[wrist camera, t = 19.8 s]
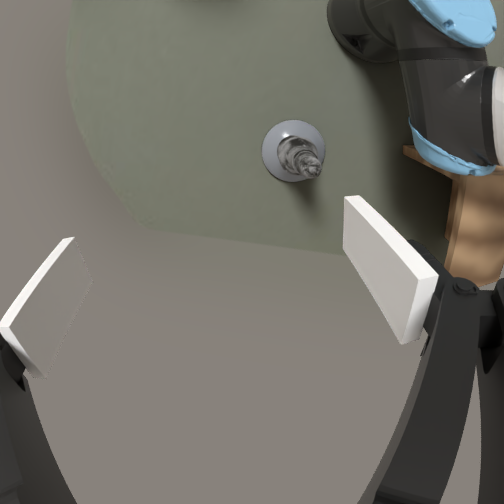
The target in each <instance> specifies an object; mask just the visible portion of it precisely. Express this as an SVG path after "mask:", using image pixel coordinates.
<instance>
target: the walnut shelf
mask: <svg viewBox="0 0 504 504" xmlns="http://www.w3.org/2000/svg"><path fill="white" fill-rule="evenodd" d="M403 154H404V155H406V156H408V157H410V158H412V159H414V160H416V161H418V162H420V163H422V164H424V165H426V166H428V167H430V168H432V169H434V170H436V171H438V172H440V173H442V174H444V175H445V176H447V177H449V178H451V179H453V183H452V192H451V199H450V206H449V213H448V219H447V225H446V230H445V235H444V237H445V238H446V239H447V240H448V241H449V247H448V251H447V256H446V260H445V264H444V268H445V269H446V270H447V271H448V272H449V273H450V274H451V275H452V276H453V277H461V278H465V279H468V280H470V281H472V282H473V283H475V284H476V285H477V287H480V286H483V285H487V284H490V283H493V282H496V281H498V279H499V277H500V274H501V271H502V268H503V264H504V167H503V166H499V165H497V166H496V167H495V170H494V171H493V172H492V173H490V174H488V175H485V176H474V175H472V174H468V175H460V174H456V173H452V172H449V171H446V170H443V169H441V168H438V167H436V166H434V165H432V164H430V163H429V162H427V161H426V160H425V159H424V158H422V157H421V156H420V154H419V153H418V151H417V150H416V148H415V145H403Z"/></svg>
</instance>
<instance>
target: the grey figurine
mask: <svg viewBox="0 0 504 504" xmlns="http://www.w3.org/2000/svg"><path fill="white" fill-rule="evenodd" d="M277 156H278V159H279V162H280V165H281V166H282V168H283V169H284V170H285V171H286V172H287V173H289V174H292V175H296V176H299V175H303V176H304V177H306V178H310V179H313V178H316V177H317V176H319V175H320V173H321V170H322V166H321V163H320V161H319V160H318V151H317V148H316V146H315V144H314V143H313V142H312V141H311V140H309V139H307V138H305V137H300V136H297V135H290V136H287V137H285V138H284V139H282V140H281V142H280V143H279V145H278V147H277Z"/></svg>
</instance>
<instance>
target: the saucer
mask: <svg viewBox="0 0 504 504" xmlns="http://www.w3.org/2000/svg"><path fill="white" fill-rule="evenodd" d="M290 135H297V136H300V137H305V138H307V139H309V140H311V141H312V142H313V143H314V144H315V146H316V148H317V151H318V160H319V161H320V163H321V164H322V162H323V159H324V155H325V145H324V141H323V139H322V137H321V135H320V133H319V132H318V131H317V130H316V129H315V128H314V127H313V126H312V125H310V124H308V123H306V122H304V121H300V120H286V121H283V122H280V123H278V124H277V125H275V126H274V127H272V128H271V129H270V130H269V132H268V133H267V134H266V136H265V138H264V140H263V144H262V158H263V161H264V164H265V166H266V167H267V169H268V170H269V171H270V172H271V173H272V174H273V175H274V176H275V177H277V178H279V179H281V180H284V181H288V182H297V181H302V180H305V179H307V178H306V177H304V176H303V175H299V176H296V175H292V174H289V173H287V172H286V171H285V170H284V169H283V168H282V166H281V165H280V162H279V159H278V156H277V147H278V145H279V143H280V142H281V140H282V139H284V138H285V137H287V136H290Z"/></svg>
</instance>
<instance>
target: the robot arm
mask: <svg viewBox="0 0 504 504" xmlns="http://www.w3.org/2000/svg"><path fill="white" fill-rule="evenodd" d="M327 18H328V22H329V25H330V28H331V30H332V32H333V34H334V36H335V37H336V39H337V40H338V41H339V43H340V44H341V45H342V46H343V47H344V48H345V49H346V50H348V51H349V52H350V53H351V54H353V55H355V56H356V57H358V58H360V59H363V60H366V61H369V62H374V63H385V62H393V61H396V60H399V64H400V68H401V73H402V78H403V82H404V87H405V93H406V98H407V104H408V110H409V117H408V120H409V125H410V127H411V129H412V135H413V141H414V145H415V148H416V150H417V151H418V153H419V154H420V156H421V157H422V158H424V159H425V160H426V161H427V162H429V163H430V164H432V165H434V166H436V167H438V168H441V169H443V170H446V171H449V172H452V173H456V174H460V175H468V174H472V175H474V176H485V175H488V174H490V173H492V172H493V171H494V170H495V167H496V166H497V165H499V166H503V167H504V69H503V68H501V67H493V66H489V65H488V62H487V56H486V51H485V46H487V45H488V44H489V43H490V42H492V40H493V39H494V37H495V33H494V31H496V29H497V23H496V16H495V13H494V10H493V7H492V4H491V2H490V0H329V2H328V6H327ZM421 59H434V60H421ZM450 59H455V60H450ZM404 60H406V61H404ZM343 250H344V251H345V253H346V254H347V256H348V257H349V259H350V261H351V262H352V264H353V265H354V267H355V268H356V270H357V272H358V273H359V275H360V276H361V278H362V280H363V281H364V283H365V284H366V286H367V288H368V289H369V291H370V293H371V294H372V296H373V298H374V299H375V301H376V303H377V304H378V306H379V308H380V309H381V311H382V313H383V314H384V316H385V318H386V320H387V321H388V323H389V324H390V326H391V328H392V330H393V332H394V334H395V335H396V337H397V339H398V341H399V343H400V344H401V345H402V344H405V343H409V342H412V341H416V340H419V338H420V335H421V332H422V329H423V327H424V328H425V330H426V332H427V333H428V337H427V340H426V343H425V346H424V348H423V350H422V353H421V355H420V356H422V357H421V360H420V364H419V367H418V370H417V373H416V376H415V379H414V382H413V385H412V388H411V391H410V394H409V396H408V399H407V401H406V404H405V407H404V409H403V412H402V414H401V417H400V419H399V422H398V424H397V426H396V429H395V431H394V434H393V436H392V438H391V440H390V442H389V445H388V447H387V449H386V451H385V453H384V455H383V457H382V459H381V461H380V464H379V466H378V467H377V469H376V471H375V473H374V475H373V477H372V479H371V481H370V483H369V484H368V486H367V488H366V490H365V491H364V493H363V495H362V497H361V499H360V500H359V502H358V503H357V504H439V503H440V500H441V498H442V496H443V493H444V490H445V488H446V485H447V482H448V479H449V477H450V474H451V471H452V468H453V465H454V462H455V458H456V455H457V452H458V449H459V445H460V441H461V438H462V434H463V430H464V426H465V422H466V417H467V413H468V408H469V403H470V398H471V392H472V387H473V380H474V374H475V367H477V376H478V385H479V395H480V410H481V471H480V485H479V497H478V504H504V278H501V279H499V280H498V281H497V284H496V286H495V289H494V290H493V291H492V290H490V291H489V290H479V288H478V287H477V285H476V284H475V283H473V282H472V281H470V280H468V279H465V278H461V277H453V276H452V275H451V274H450V273H449V272H448V271H447V270H446V269H445V268H444V267H443V266H442V264H441V263H440V262H439V261H438V260H437V259H436V260H435V257H434V256H433V255H432V254H430V252H429V251H428V250H427V249H426V248H425V247H424V246H423V245H421V244H419V243H418V242H416V241H414V240H405V239H404V238H403V237H402V236H401V235H400V234H399V233H398V232H397V231H396V230H395V229H394V228H393V227H392V226H391V225H390V224H389V223H388V222H387V221H386V220H385V219H384V218H383V217H382V216H381V215H380V214H379V213H378V212H377V211H376V210H374V209H373V208H372V207H371V206H370V205H369V204H368V203H367V202H366V201H365V200H364V199H363V198H362V197H360V196H359V195H358V196H347V197H344V230H343ZM92 283H93V281H92V278H91V276H90V274H89V271H88V269H87V267H86V264H85V262H84V259H83V257H82V254H81V252H80V249H79V246H78V244H77V241H76V238H75V237H71V238H66V239H63V240H62V241H61V242H60V243H59V245H58V246H57V247H56V248H55V249H54V251H53V252H52V253H51V254H50V255H49V257H48V258H47V259H46V260H45V262H44V263H43V264H42V265H41V266H40V268H39V269H38V270H37V271H36V273H35V274H34V275H33V277H32V278H31V279H30V281H29V282H28V283H27V285H26V286H25V287H24V289H23V290H22V292H21V293H20V294H19V296H18V297H17V298H16V300H15V301H14V302H13V304H12V305H11V307H10V308H9V310H8V311H7V312H6V314H5V315H4V317H3V319H2V320H1V322H0V504H77V503H76V501H75V499H74V497H73V495H72V494H71V492H70V490H69V488H68V486H67V484H66V482H65V480H64V478H63V476H62V474H61V472H60V469H59V467H58V465H57V463H56V460H55V458H54V456H53V454H52V451H51V449H50V446H49V444H48V441H47V439H46V436H45V434H44V431H43V428H42V425H41V423H40V420H39V417H38V414H37V411H36V408H35V405H34V401H33V398H32V395H31V391H30V388H29V384H28V380H27V379H26V377H25V376H24V375H23V372H24V370H25V368H26V369H27V370H28V372H29V373H30V374H31V375H32V377H33V378H41V379H46V378H47V376H48V374H49V371H50V369H51V367H52V364H53V362H54V360H55V357H56V355H57V353H58V351H59V349H60V346H61V344H62V342H63V340H64V338H65V336H66V333H67V331H68V329H69V327H70V325H71V323H72V321H73V319H74V317H75V315H76V313H77V311H78V309H79V307H80V305H81V304H82V302H83V300H84V298H85V296H86V294H87V292H88V290H89V289H90V287H91V285H92Z"/></svg>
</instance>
